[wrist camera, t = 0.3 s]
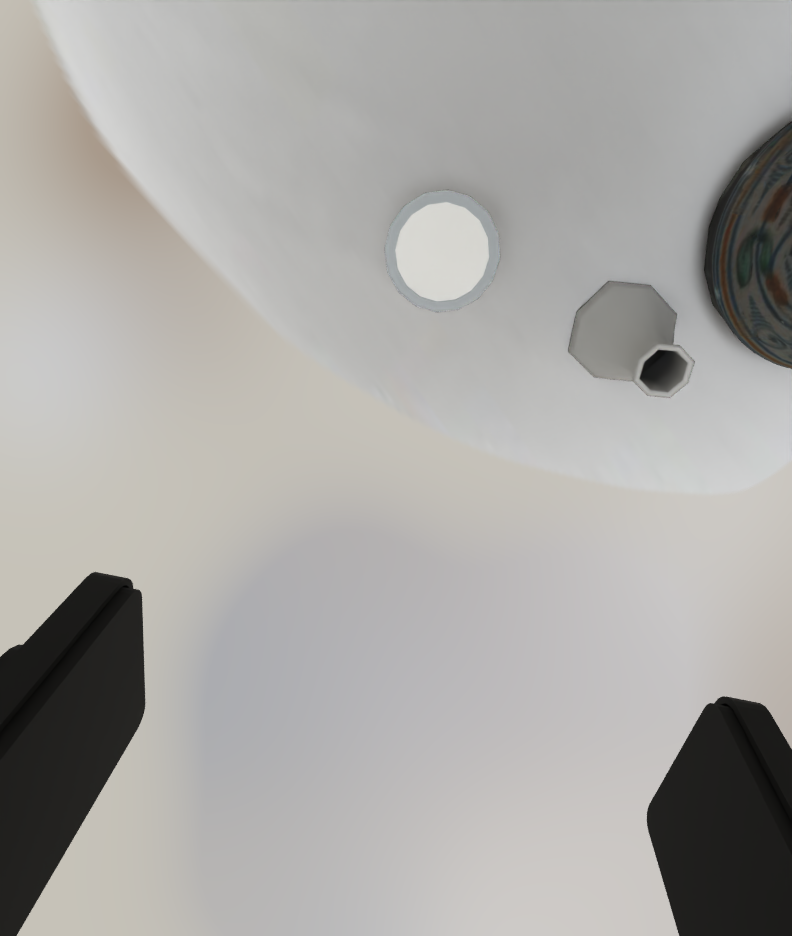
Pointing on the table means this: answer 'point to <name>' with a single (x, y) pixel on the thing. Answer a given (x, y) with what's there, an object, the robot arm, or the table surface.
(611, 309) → the flask
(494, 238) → the grey cylinder
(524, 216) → the table surface
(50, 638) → the robot arm
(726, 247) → the beer stein
